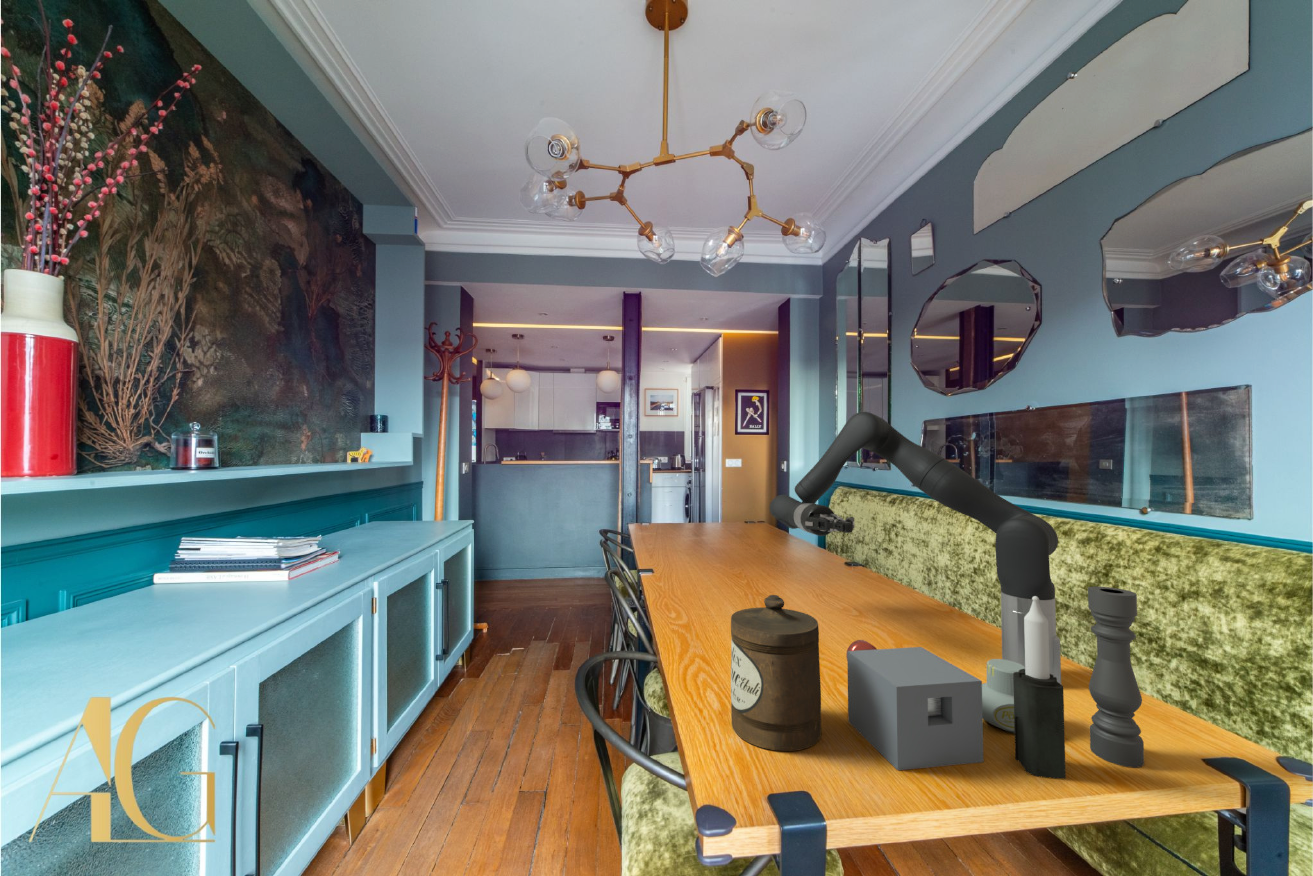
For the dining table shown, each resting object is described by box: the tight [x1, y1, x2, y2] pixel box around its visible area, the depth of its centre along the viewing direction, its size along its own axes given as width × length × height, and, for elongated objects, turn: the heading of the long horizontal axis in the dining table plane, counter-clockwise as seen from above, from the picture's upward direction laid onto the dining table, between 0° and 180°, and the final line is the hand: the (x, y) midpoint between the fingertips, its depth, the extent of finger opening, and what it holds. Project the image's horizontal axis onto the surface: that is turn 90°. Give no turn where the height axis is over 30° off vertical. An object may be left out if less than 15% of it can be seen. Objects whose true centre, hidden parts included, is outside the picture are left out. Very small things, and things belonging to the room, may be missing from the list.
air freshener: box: [982, 658, 1025, 734], centre depth 89 cm, size 11×8×10 cm
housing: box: [846, 646, 984, 771], centre depth 83 cm, size 14×14×12 cm
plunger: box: [845, 639, 941, 716], centre depth 89 cm, size 20×6×6 cm, turn 9°
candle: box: [1013, 596, 1066, 779], centre depth 77 cm, size 5×5×25 cm
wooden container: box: [730, 594, 822, 752], centre depth 88 cm, size 15×15×22 cm
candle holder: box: [1087, 586, 1145, 768], centre depth 80 cm, size 6×6×25 cm
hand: (849, 528), depth 114 cm, fingers closed
